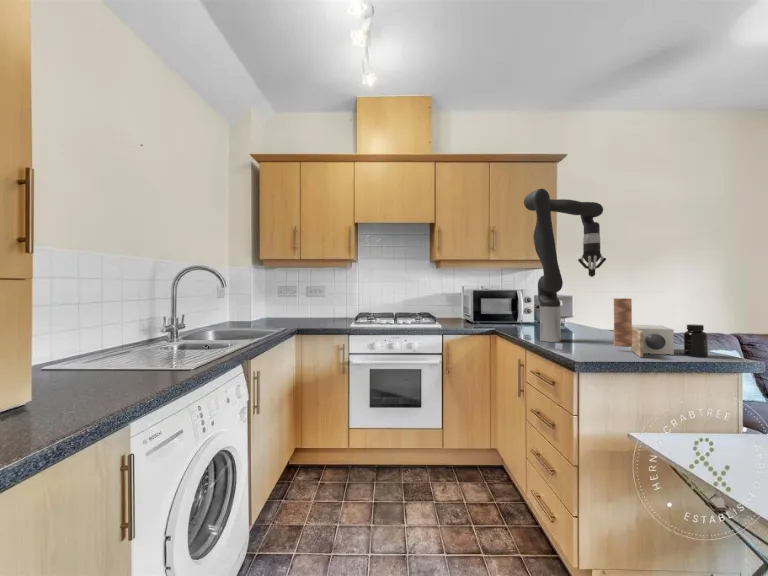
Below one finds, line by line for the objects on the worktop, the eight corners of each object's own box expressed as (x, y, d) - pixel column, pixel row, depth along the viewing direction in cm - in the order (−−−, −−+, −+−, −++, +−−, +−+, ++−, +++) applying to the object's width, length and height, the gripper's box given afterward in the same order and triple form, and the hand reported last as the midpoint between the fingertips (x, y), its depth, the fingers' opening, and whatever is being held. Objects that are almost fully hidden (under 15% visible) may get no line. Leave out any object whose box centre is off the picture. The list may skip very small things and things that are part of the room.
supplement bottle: (698, 354, 135) (697, 323, 135) (713, 357, 128) (712, 325, 128) (679, 354, 136) (679, 323, 136) (693, 357, 129) (692, 325, 129)
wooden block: (621, 355, 132) (620, 299, 132) (614, 349, 144) (613, 298, 144) (643, 357, 129) (642, 299, 129) (633, 350, 142) (633, 298, 142)
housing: (637, 353, 137) (637, 328, 137) (628, 347, 152) (628, 324, 151) (675, 355, 132) (675, 330, 132) (662, 348, 147) (661, 325, 146)
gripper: (577, 243, 175) (578, 276, 175) (608, 241, 170) (608, 276, 170) (576, 244, 182) (576, 277, 182) (605, 243, 177) (605, 276, 177)
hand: (591, 276), depth 176 cm, fingers closed
